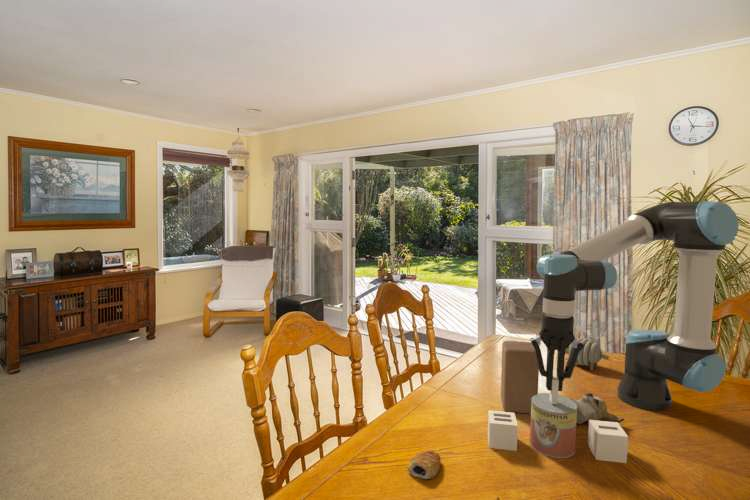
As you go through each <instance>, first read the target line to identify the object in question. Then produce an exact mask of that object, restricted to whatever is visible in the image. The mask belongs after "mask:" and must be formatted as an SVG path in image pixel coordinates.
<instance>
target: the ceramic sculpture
mask: <svg viewBox="0 0 750 500" xmlns="http://www.w3.org/2000/svg"><path fill="white" fill-rule="evenodd" d="M570 399H571V400H572V401H574V402H575V403H576V404H577V407H578V408H577V420H576V424H579V425H581V424H583V423H585V422H589V420H597V421H608V422H618V423H621V422H623V421H625V419H624V418H622V417H618V416H616V415H615V414H613V413H610V412H608V405H607V403H606V402H605V401H604V400H603V399H601V398H600V397H599V396H597V395H593V394H592V393H585V394H583V395H582V396H581V397H580V399H573V398H570Z"/></svg>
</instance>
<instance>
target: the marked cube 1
mask: <svg viewBox="0 0 750 500" xmlns="http://www.w3.org/2000/svg"><path fill="white" fill-rule="evenodd" d="M515 413H516V412H507V411H500V410H489V409H488V411H487V442H488V449H497V450H504V451H512V452H514V451H515V452H517V451H518V433H519V432H518V428H519V425H518V422H517V418H516V414H515Z"/></svg>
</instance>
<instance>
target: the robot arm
mask: <svg viewBox="0 0 750 500" xmlns="http://www.w3.org/2000/svg"><path fill="white" fill-rule="evenodd" d="M738 232H739V219H738V215H737V214H736V212H735V210H733V209H732V207H731V206H730V205H729V204H727V203H724V202H722V201H711V200H710V201H709V200H703V201H667V202H663V203H659V204H656V205H652V206H650V207H648V208H646V209H643V210H641V211H638V212H636V213H633V214H632V215H630V216H628V217H627V218H626V220H625V221H624V222H623V223H621V224H619V225H617V226H614V227H612V228H610V229H608V230H606V231H604V232H602V233H599V234H597V235H595V236H594V237H591V238H589V239H587V240H586V241H583V242H581V243H578V244H577V245H575V246H573V247H571V248H569V249H567V250H564V251H562V252H560V253H558V254H557V253H551V254H544V255H542V256H541V257H540V258H539V259H538V260H537V264H536V272H537V274H538V275H539V277H541V278H542V279H543V294H542V295H543V296H542V297H543V298H542V312H543V313H542V315H541V329H540V331H539V334H538V335H537V336H536V337H531V338H529V342H531V343H532V345H533V346H534V349H535V354H536V358H537V363H538V368H539V374H540V375H541V376H542V377H545V388H546V389H547V391H549V393H550V396H549V400H550V402H551V404H558V395H559V392H562V391H563V383H564V381H565V379H570V378H571V377H572V375H573V372H574V369H575V367H576V366H575V365H576V360H577V357H578V354H579V352H580V351H581V350H582V348H583V347H584V345H583V343H582V342H581V341H578V340H576V339H577V338H576V336H575V334H574V321H575V318H574V315H575V302H576V292H581V291H603V290H607V289H610V288H613V287H614V286H615V284H616V282H617V280H618V272H617V269H616V267H615V265H613V264H612V263H611V262H610V261H606V260H608V259H611V258H612V257H615V256H616V255H618V254H621V253H623V252H624V251H626V250H629V249H632V248H633V247H635V246H636V245H638V244H639V245H646V244H649V243H651V242H655V241H673V249H674V250H675V251H676V252H677V253H678V256H679V257H678V258H679V259H678V267H677V268H678V271H677V280H676V281H677V282H676V283H677V284H676V296H675V297H676V298H675V312H674V324H673V325H674V326H673V333H672V334H669V333H668V332H666V331H663V330H657V329H655V330H654V329H635V330H633V329H632V330H631V331H629V332H628V333H627V334H626V335H627V336H626V341H625V355H624V372H623V373H624V374H623V376H622V377H621V379H620V381H619V384H618V386H617V388H616V389H617V391H616V395H617V397H618V398H619V400H621V401H623V402H624V403H626V404H628V405H630V406H633V407H637V408H641V409H644V410H651V411H665V410H669V409H671V408H672V405H673V398H672V394H671V391H670V388H669V385H668V381H671V382H673V383H675V384H678V385H680V386H682V387H684V388H686V389H688V390H689V389H690V390H693V391H696V392H700V393H707V392H710V391H712V390H714V389H716V388H717V387H718V386H719V384H721V382H722V381H723V379H725V374H726V373H727V372H726V371H727V362H726V361H725V358H724V357H722V356H721V355H720V354H717V347H718V346H717V344H716V343H715V342H714V341H713V340H712V338H711V337H712V325H713V312H714V301H715V289H716V288H715V287H716V275H717V264H718V263H717V262H718V256H719V255H721V254H722V253H723V252H725V251H726V246H727V245H730V244H731V243H733V242H734V241H735V239H736V236H737V235H738ZM541 341H542V343H544V345H545V347H546V350H547V351H546V365H544V359H543V354H542V350H541V348H540V346H541V344H542V343H541ZM572 342H573V343H572ZM571 343H572V346H573V347H572V349H571V352H570V355H569V354H568V359H567V362H566V364H565V355H566V353H565V350H566V349H567V348H568V347H569V346H570V344H571ZM556 351H557V354H556V353H555V352H556ZM555 354H556V355H557V358H556V359H557V360H556V375H555V376H554V365H555V363H554V361H555ZM545 366H546V369H545ZM667 380H668V381H667Z"/></svg>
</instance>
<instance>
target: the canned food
mask: <svg viewBox="0 0 750 500" xmlns="http://www.w3.org/2000/svg"><path fill="white" fill-rule="evenodd" d="M549 396H550V392H544V393H543V392H541V393H540V392H539V393H538V394H536V395H534V396H532V398H531V414H530V427H529V429H530V432H529V444H530V446H531V447H532V448H533V450H535V451H536V452H538V453H539V454H541V455H544V456H546V457H550V458H553V459H556V458H557V459H566V458H570V457H572V456H574V455H575V453H576V438H577V437H576V436H577V423H576V420H577V408H578V407H577V404H576V403H575V402H574V401H572V400H571V399H572V398H569V397H568V396H564V395H561V394H558V404H551V402H550V400H549Z"/></svg>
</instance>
